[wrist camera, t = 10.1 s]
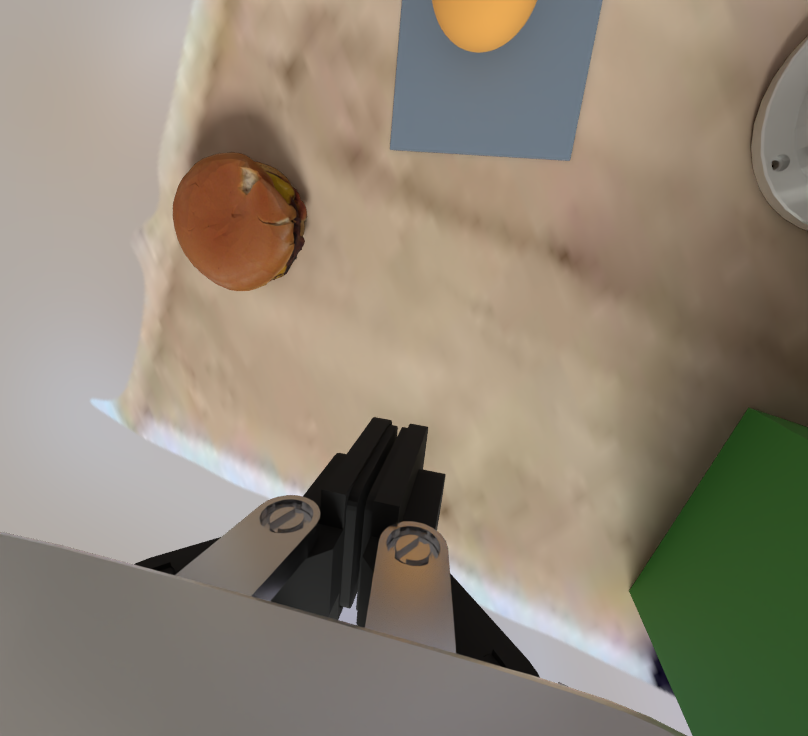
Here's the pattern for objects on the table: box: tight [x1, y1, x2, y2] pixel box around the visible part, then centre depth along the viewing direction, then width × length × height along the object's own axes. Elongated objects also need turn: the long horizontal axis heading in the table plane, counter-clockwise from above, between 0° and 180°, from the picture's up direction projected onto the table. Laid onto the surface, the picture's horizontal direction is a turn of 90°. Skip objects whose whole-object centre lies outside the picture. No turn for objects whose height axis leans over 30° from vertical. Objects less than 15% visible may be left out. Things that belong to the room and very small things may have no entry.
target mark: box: [390, 0, 602, 161], centre depth 24 cm, size 12×12×1 cm
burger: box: [173, 152, 307, 291], centre depth 28 cm, size 10×9×5 cm
